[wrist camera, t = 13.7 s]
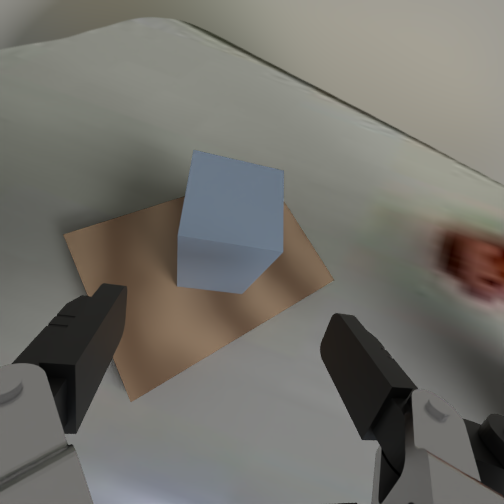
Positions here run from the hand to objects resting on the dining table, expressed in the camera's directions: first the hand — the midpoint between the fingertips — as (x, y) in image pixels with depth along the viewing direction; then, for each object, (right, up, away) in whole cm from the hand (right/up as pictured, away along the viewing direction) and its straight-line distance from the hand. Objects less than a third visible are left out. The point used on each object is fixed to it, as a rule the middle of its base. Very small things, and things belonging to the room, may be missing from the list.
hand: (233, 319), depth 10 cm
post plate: (-3, +1, +15) cm, 16 cm away
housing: (-3, +2, +14) cm, 14 cm away
